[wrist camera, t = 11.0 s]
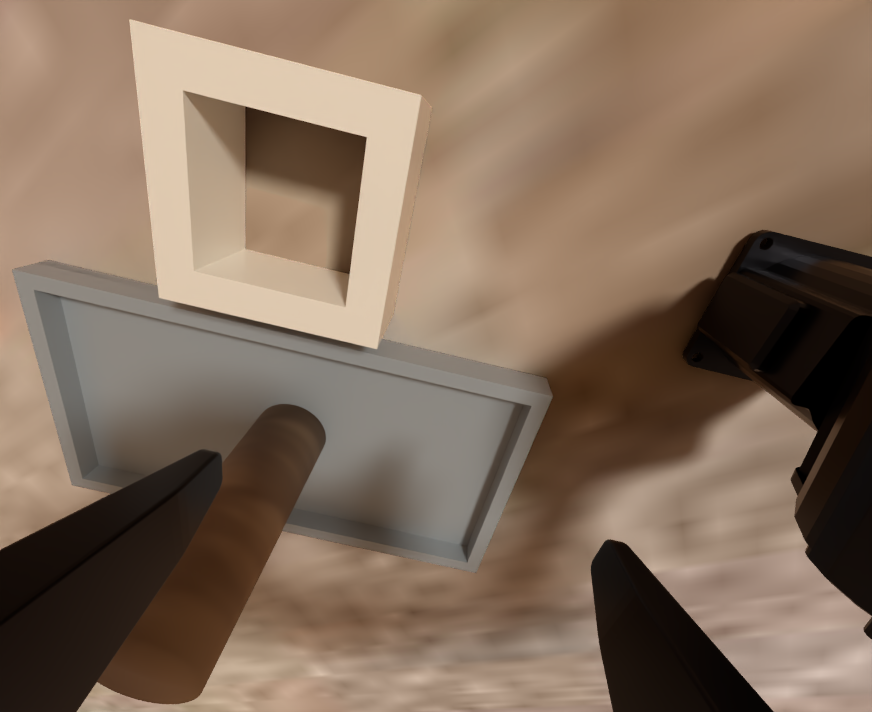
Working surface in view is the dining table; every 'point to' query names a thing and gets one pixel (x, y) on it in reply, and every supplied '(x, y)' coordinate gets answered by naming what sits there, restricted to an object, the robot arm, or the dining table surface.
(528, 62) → the dining table surface
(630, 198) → the dining table surface
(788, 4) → the dining table surface
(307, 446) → the pin
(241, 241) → the square frame
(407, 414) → the tray
